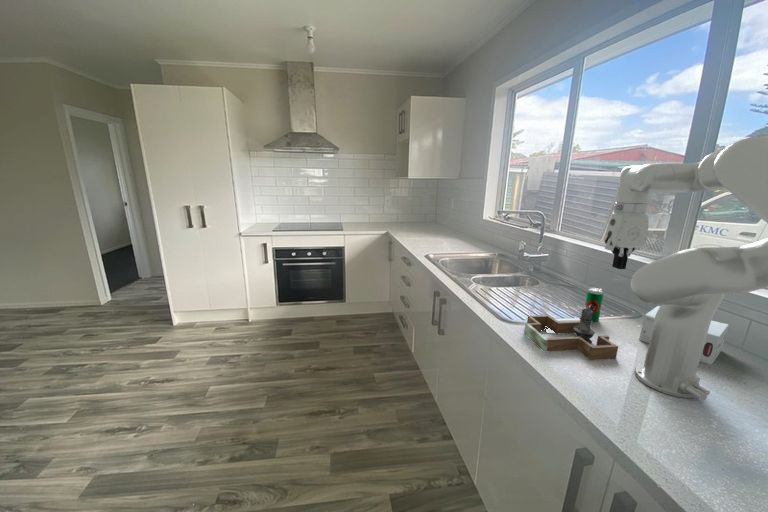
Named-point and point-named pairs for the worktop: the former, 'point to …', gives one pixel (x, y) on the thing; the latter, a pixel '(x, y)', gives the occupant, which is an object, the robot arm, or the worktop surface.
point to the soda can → (594, 302)
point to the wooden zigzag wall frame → (567, 338)
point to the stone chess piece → (585, 325)
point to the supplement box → (711, 343)
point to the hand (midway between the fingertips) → (618, 267)
